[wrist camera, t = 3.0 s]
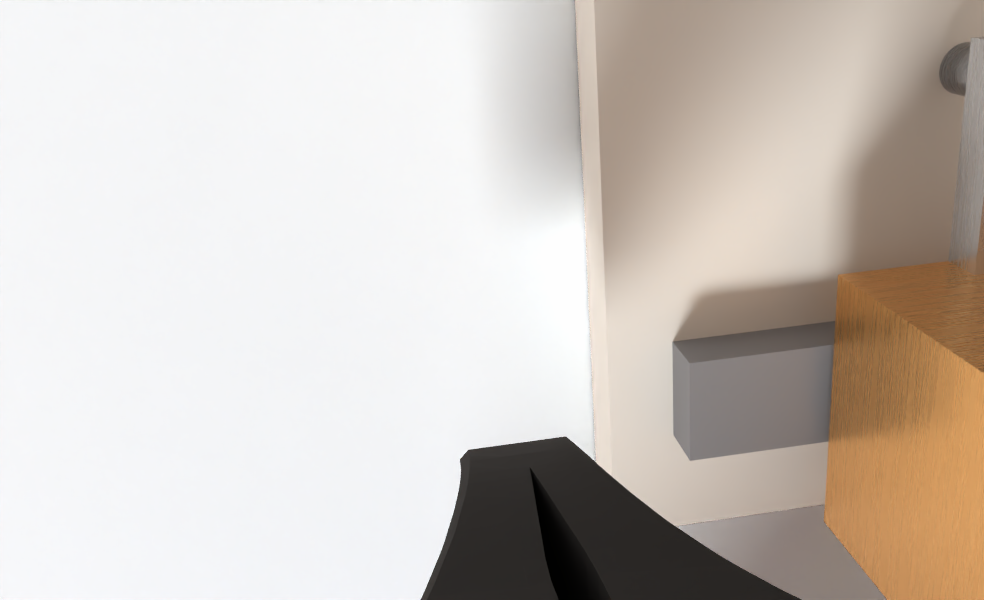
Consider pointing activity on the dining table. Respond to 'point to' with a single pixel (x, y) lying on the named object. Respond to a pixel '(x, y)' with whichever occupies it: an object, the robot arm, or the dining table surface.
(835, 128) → the pitch plate
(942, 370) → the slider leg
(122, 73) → the dining table surface
